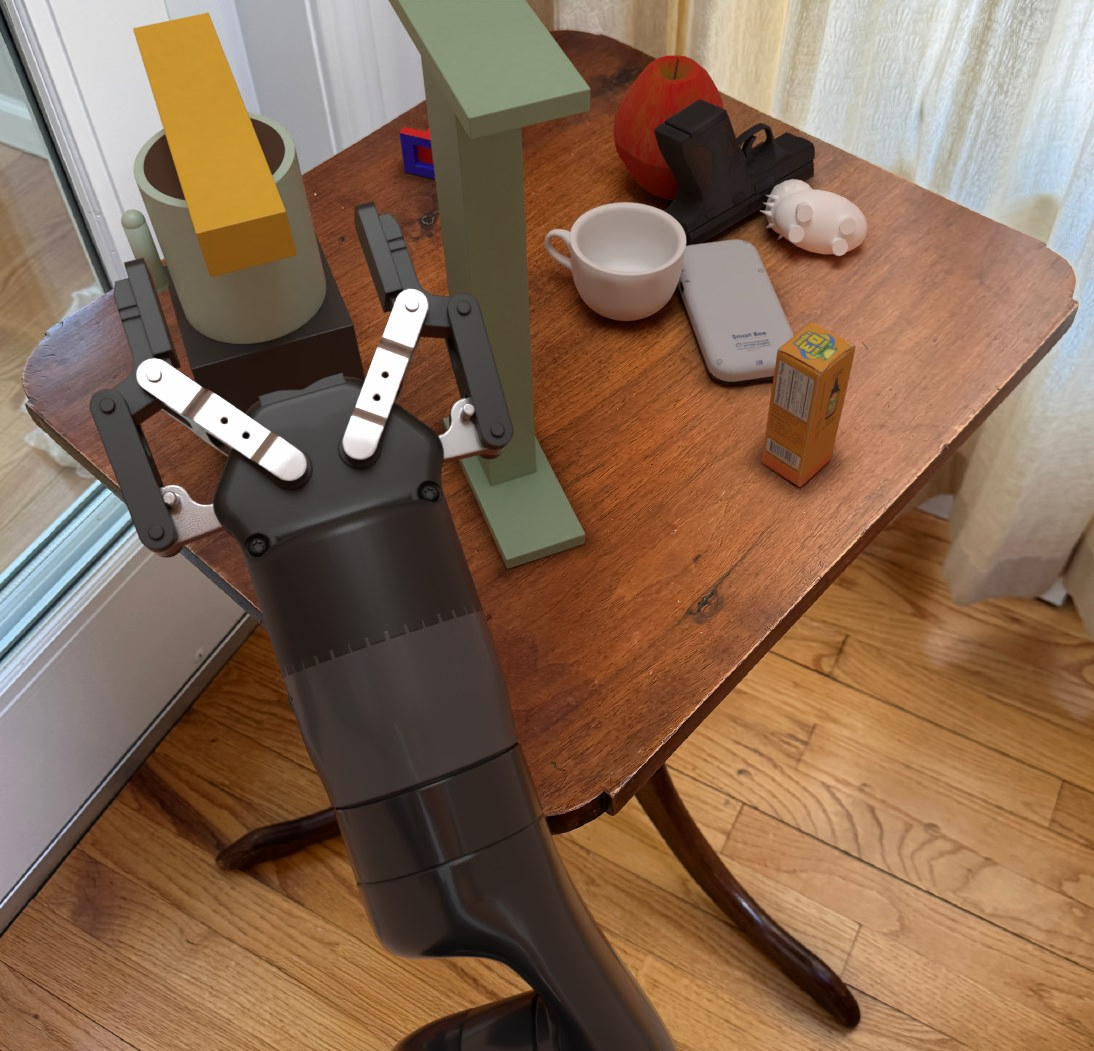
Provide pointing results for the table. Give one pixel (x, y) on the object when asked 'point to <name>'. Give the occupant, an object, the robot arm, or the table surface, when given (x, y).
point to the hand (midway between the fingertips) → (251, 238)
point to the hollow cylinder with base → (245, 286)
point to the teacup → (623, 258)
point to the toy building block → (417, 152)
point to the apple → (658, 117)
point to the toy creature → (814, 218)
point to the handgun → (725, 168)
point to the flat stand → (496, 227)
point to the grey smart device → (733, 310)
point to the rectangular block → (214, 147)
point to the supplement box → (806, 402)
